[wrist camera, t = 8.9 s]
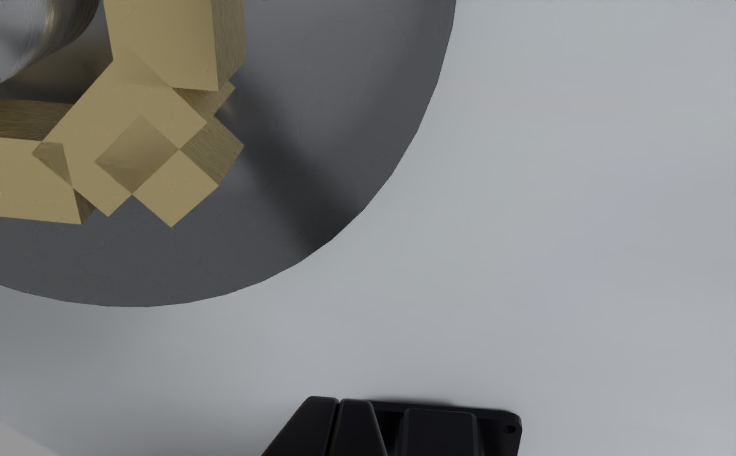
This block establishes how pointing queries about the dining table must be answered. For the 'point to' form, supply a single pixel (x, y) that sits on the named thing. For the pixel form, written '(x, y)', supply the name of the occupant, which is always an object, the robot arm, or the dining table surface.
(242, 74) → the grey round shallow disc
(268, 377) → the dining table surface
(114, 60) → the gold block ring
